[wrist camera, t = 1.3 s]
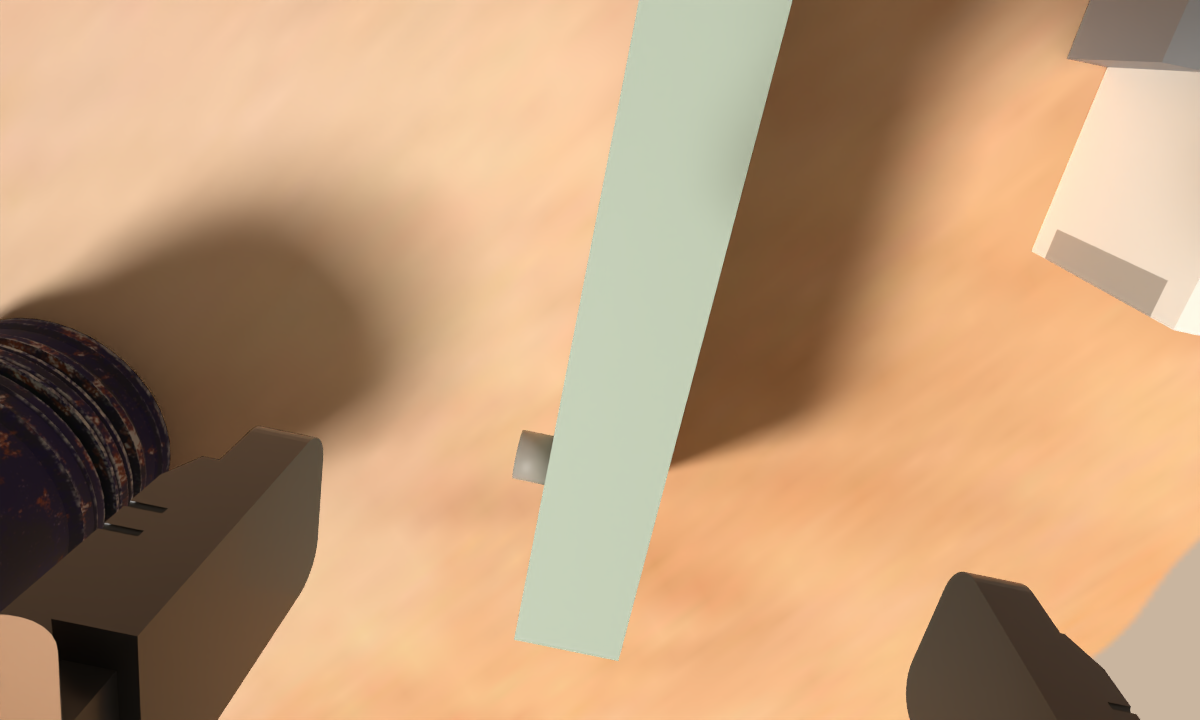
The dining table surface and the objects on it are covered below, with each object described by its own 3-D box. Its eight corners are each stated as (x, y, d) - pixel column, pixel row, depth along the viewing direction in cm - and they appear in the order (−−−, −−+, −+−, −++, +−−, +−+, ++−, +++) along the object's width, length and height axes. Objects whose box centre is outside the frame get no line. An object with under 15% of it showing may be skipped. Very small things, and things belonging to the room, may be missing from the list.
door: (527, 458, 31) (472, 631, 22) (630, -108, 24) (612, -204, 15) (629, 479, 31) (618, 660, 22) (765, -79, 24) (834, -156, 15)
